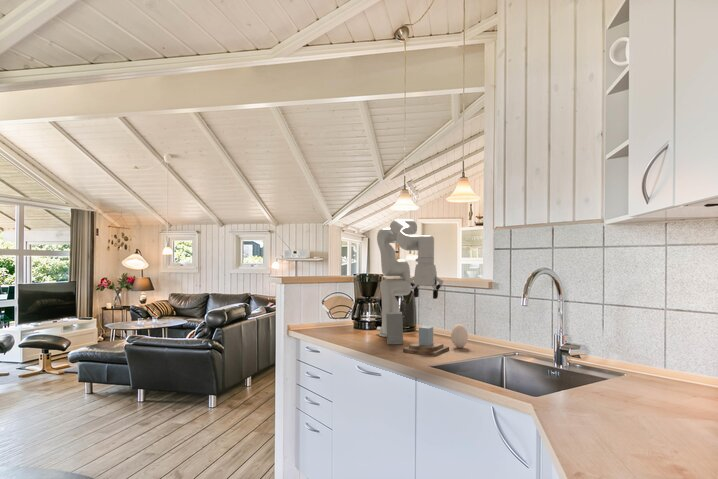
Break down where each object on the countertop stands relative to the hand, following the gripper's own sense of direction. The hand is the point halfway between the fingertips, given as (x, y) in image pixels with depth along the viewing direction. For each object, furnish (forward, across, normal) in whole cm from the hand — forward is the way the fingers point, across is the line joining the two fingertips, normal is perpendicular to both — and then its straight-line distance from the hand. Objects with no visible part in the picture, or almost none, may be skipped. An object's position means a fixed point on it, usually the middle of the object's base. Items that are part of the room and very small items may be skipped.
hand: (425, 297), depth 207 cm
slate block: (+22, +1, 0) cm, 22 cm away
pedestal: (+25, +1, -1) cm, 25 cm away
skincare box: (+25, -20, +6) cm, 33 cm away
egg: (+25, +11, +15) cm, 31 cm away
